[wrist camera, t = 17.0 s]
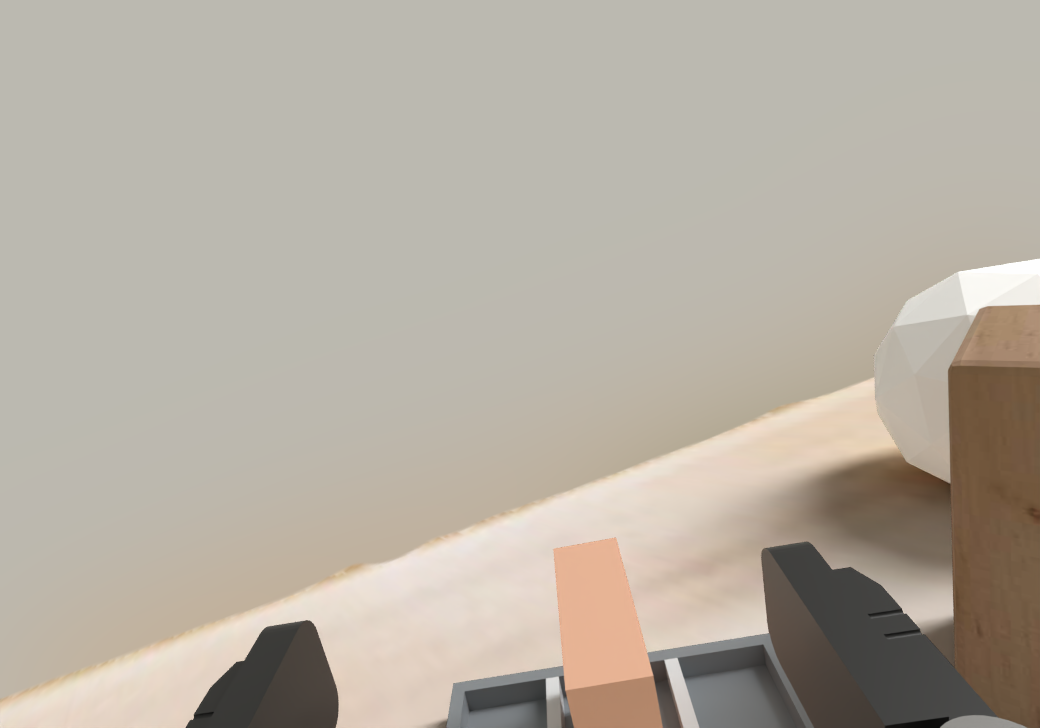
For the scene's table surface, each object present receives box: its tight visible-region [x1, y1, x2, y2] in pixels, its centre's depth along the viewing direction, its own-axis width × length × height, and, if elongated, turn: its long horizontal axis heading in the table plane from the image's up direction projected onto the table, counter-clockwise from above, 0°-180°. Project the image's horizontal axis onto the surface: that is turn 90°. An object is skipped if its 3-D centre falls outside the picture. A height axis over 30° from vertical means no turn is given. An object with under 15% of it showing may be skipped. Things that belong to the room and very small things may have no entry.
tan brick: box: [554, 538, 663, 728], centre depth 30 cm, size 10×4×11 cm, turn 0°
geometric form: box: [874, 259, 1040, 484], centre depth 47 cm, size 18×19×23 cm
